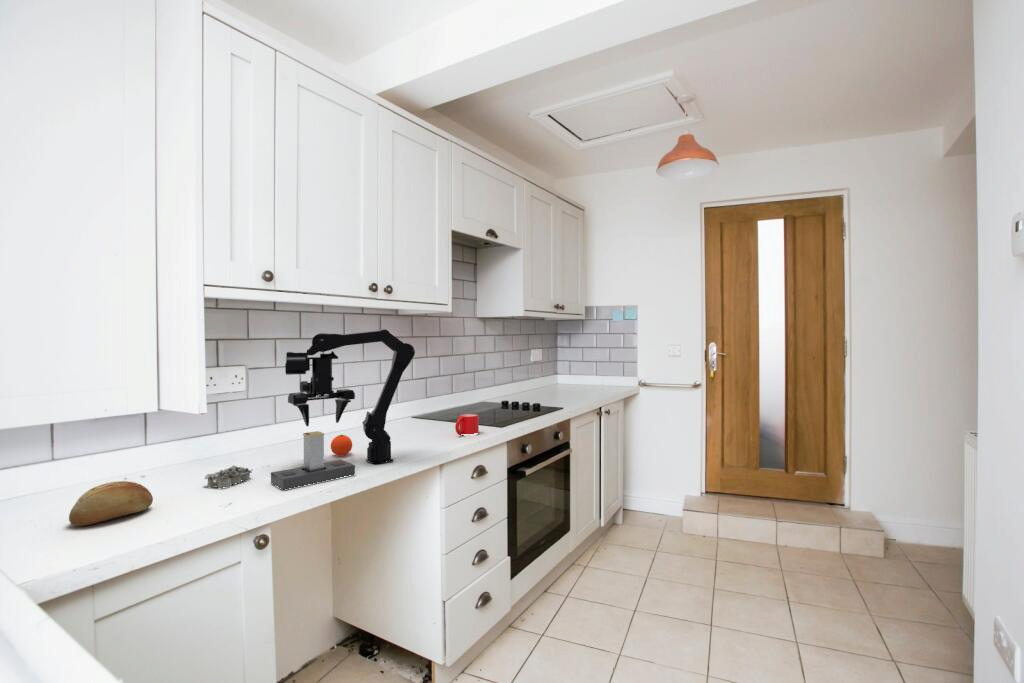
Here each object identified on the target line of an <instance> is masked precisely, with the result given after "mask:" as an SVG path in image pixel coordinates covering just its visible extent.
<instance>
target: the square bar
mask: <svg viewBox="0 0 1024 683" xmlns="http://www.w3.org/2000/svg"><path fill="white" fill-rule="evenodd" d="M302 435H303V466H304V471H306V472H308V473H309V472H314V471H319V470H324V463H325V450H324V449H325V444H324V443H325V439H324V438H325V437H324V436H325V433H324V432H322V431H319V430H318V431H311V432H305V433H304V432H303V433H302Z"/></svg>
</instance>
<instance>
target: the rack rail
mask: <svg viewBox="0 0 1024 683" xmlns="http://www.w3.org/2000/svg"><path fill="white" fill-rule="evenodd" d="M354 474H355V475H356V464H353V463H351V462H348V461H345V460H343V459H336V460H330V461H326V462H325V461H324V470H319V471H314V472H309V473H308V472H306V471H304V465H303V466H299V467H294V468H288V469H282V470H277V471H273V472H272V471H271V472H270V484H271V483H273V484H274V485H276V486H278V487H279V488H281V489H283V490H285V489H289V488H294V487H298V486H304V485H308V484H313V483H317V482H322V481H326V480H331V479H336V478H340V477H344V476H349V475H354ZM336 480H337V479H336ZM331 481H332V480H331ZM322 483H323V482H322ZM273 484H272V485H273ZM274 485H273V486H274ZM313 485H314V484H313ZM276 486H275V487H276ZM308 486H309V485H308ZM278 487H277V488H278ZM304 487H305V486H304ZM279 488H278V489H279ZM281 489H280V490H281ZM294 489H295V488H294ZM283 490H282V491H283ZM285 491H286V490H285Z"/></svg>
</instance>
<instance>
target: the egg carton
mask: <svg viewBox="0 0 1024 683" xmlns="http://www.w3.org/2000/svg"><path fill="white" fill-rule="evenodd" d="M252 471H254V470H253V468H252V469H249V467H246V468H245V467H243V466H236V465H231V467H228V468H225V469H224V470H223V469H221V470H219V471H216V472H214V473H208V474H206V475H205V476H204V478H203V479H204V480H207V488H208V487H213V486H218V487H217V489H218V488H223V487H230V486H231V487H232V485H231V484H235V483H240V484H241V482H242V481H241V480H248V479H250V480H251V478H250V475H251V474H252ZM248 481H249V480H248ZM235 485H236V484H235ZM231 487H230V488H231ZM213 488H214V487H213ZM223 489H224V488H223Z"/></svg>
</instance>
